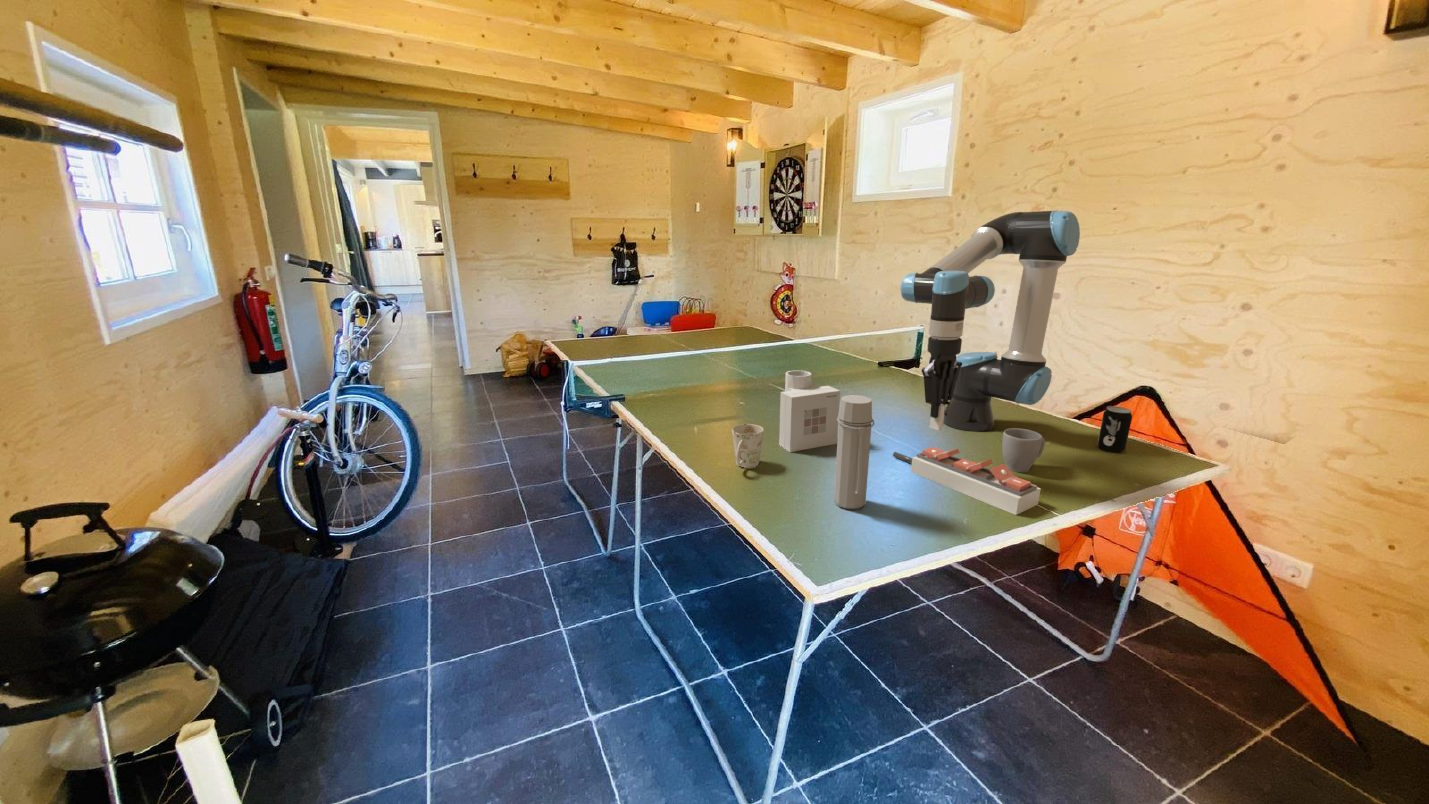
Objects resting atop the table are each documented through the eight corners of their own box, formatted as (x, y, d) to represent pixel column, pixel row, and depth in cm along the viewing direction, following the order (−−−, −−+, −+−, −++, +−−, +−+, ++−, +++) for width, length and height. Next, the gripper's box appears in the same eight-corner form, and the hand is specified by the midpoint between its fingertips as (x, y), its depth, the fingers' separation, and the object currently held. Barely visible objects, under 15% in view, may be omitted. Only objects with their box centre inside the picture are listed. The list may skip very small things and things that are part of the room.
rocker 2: (986, 474, 129) (991, 466, 128) (998, 470, 132) (1002, 462, 130) (1016, 496, 124) (1021, 488, 123) (1027, 490, 126) (1032, 483, 125)
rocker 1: (922, 459, 144) (921, 450, 144) (933, 455, 146) (932, 446, 146) (949, 461, 137) (948, 452, 137) (960, 457, 140) (959, 448, 139)
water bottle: (828, 497, 132) (833, 394, 124) (860, 495, 132) (868, 393, 125) (839, 516, 123) (846, 407, 116) (874, 514, 123) (883, 406, 116)
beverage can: (1129, 454, 155) (1138, 413, 152) (1102, 452, 156) (1111, 412, 153) (1117, 446, 161) (1126, 406, 158) (1092, 444, 163) (1100, 405, 159)
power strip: (883, 460, 152) (884, 444, 151) (905, 453, 157) (906, 437, 155) (1015, 515, 123) (1019, 495, 121) (1037, 504, 127) (1041, 485, 126)
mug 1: (766, 460, 153) (767, 425, 150) (754, 478, 142) (754, 441, 139) (737, 456, 156) (737, 422, 153) (722, 474, 144) (722, 438, 141)
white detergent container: (790, 452, 158) (792, 384, 152) (758, 432, 175) (759, 369, 169) (837, 443, 165) (841, 377, 159) (803, 425, 181) (805, 364, 175)
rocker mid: (953, 471, 137) (951, 462, 137) (964, 467, 139) (963, 458, 139) (983, 473, 130) (981, 463, 130) (994, 468, 132) (992, 459, 132)
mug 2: (1017, 477, 141) (1023, 441, 139) (990, 464, 149) (995, 430, 147) (1054, 470, 145) (1060, 435, 142) (1026, 458, 153) (1031, 425, 150)
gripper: (941, 342, 129) (932, 438, 136) (975, 335, 135) (964, 427, 143) (914, 337, 135) (906, 429, 142) (948, 331, 141) (939, 419, 149)
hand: (935, 428), depth 142 cm, fingers closed
